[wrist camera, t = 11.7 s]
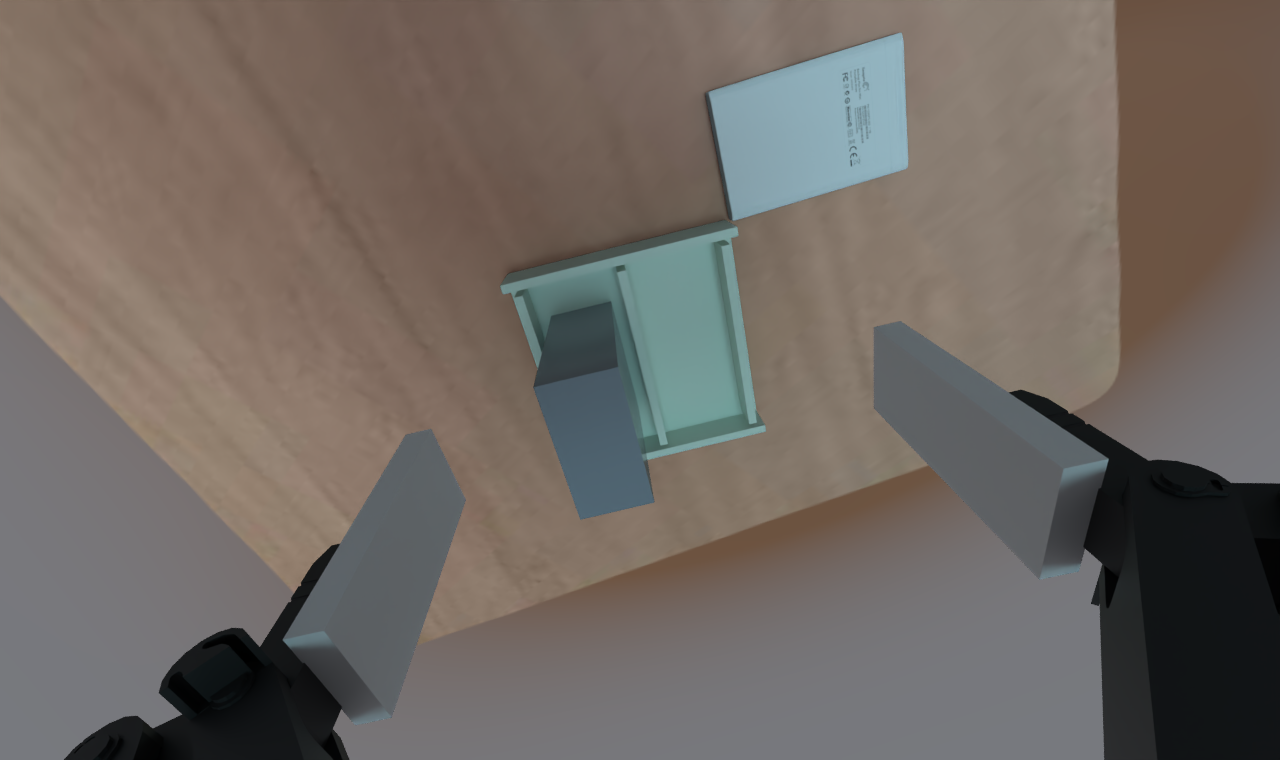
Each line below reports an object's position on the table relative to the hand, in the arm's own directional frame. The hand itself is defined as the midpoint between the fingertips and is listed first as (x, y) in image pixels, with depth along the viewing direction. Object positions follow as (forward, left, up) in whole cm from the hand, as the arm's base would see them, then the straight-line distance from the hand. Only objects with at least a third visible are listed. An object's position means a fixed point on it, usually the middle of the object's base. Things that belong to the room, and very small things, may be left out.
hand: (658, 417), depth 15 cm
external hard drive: (-5, +14, -25) cm, 29 cm away
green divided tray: (+7, 0, -24) cm, 25 cm away
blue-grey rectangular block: (+7, -4, -23) cm, 24 cm away
